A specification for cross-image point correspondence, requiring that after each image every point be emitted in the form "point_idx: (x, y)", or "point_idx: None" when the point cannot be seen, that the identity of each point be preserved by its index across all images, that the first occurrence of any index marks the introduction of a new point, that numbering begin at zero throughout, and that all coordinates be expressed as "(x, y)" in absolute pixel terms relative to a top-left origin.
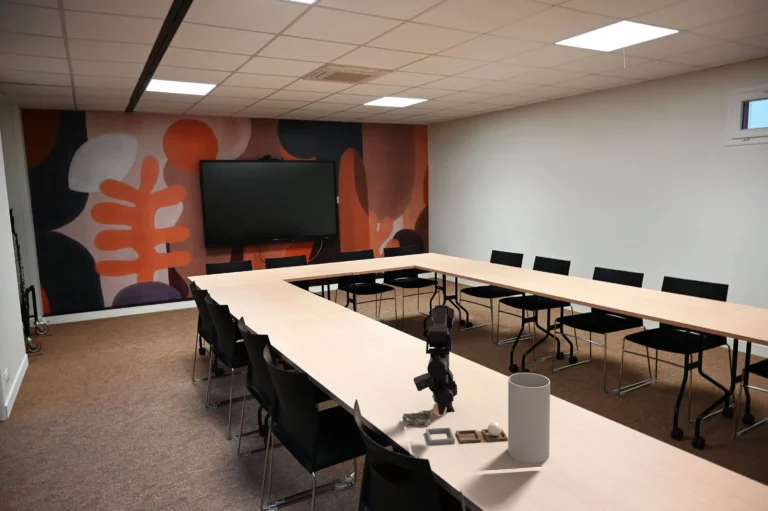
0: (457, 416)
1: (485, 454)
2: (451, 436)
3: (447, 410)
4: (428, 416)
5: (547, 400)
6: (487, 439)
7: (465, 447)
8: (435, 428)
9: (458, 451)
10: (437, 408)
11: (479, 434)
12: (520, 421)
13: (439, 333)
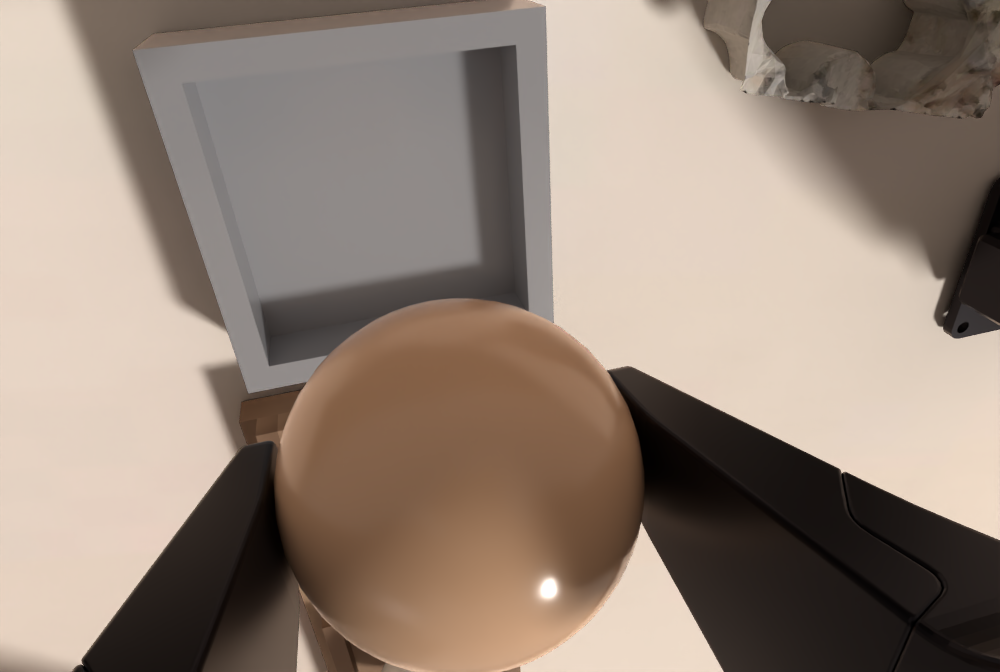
0: (856, 355)
1: (124, 590)
2: (323, 355)
3: (973, 283)
4: (925, 63)
5: None
6: (323, 627)
7: (234, 441)
8: (545, 157)
9: (125, 383)
10: (303, 500)
11: None
12: None
13: None
